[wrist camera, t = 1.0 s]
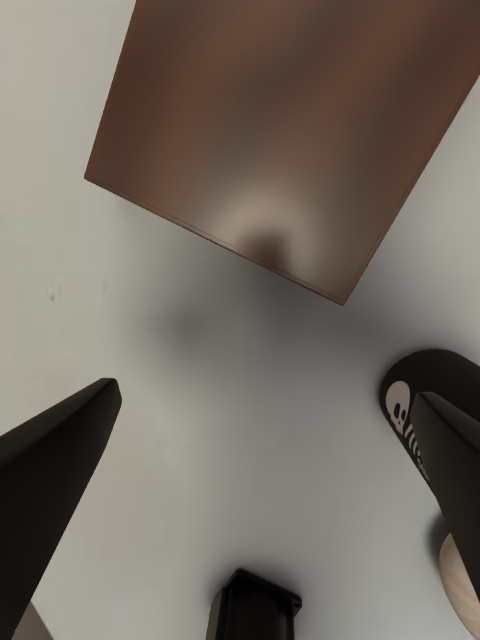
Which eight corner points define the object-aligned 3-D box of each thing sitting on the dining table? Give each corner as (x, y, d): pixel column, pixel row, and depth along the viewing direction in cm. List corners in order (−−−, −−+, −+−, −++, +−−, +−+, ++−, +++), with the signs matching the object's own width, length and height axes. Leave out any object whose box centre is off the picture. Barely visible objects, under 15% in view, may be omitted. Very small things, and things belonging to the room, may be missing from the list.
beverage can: (392, 335, 21) (535, 449, 10) (490, 356, 21) (759, 501, 9) (363, 418, 23) (455, 599, 11) (453, 439, 23) (642, 647, 11)
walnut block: (481, 31, 17) (544, -32, 13) (331, 295, 21) (344, 307, 17) (213, -107, 16) (195, -213, 13) (116, 189, 21) (80, 177, 17)
